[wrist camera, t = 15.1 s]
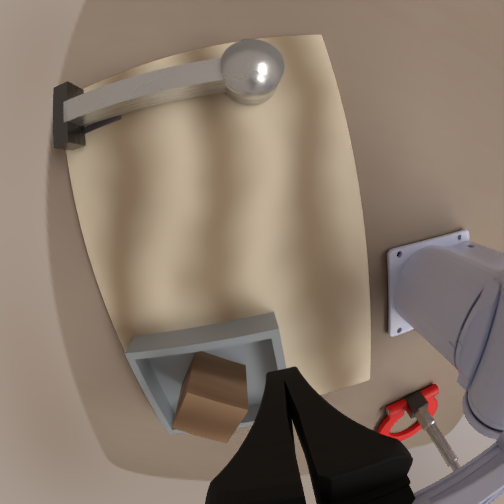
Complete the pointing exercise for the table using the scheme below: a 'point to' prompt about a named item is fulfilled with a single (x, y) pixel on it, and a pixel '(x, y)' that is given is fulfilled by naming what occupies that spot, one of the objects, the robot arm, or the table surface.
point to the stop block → (212, 397)
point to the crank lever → (169, 89)
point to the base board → (233, 214)
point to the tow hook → (419, 421)
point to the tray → (213, 342)
